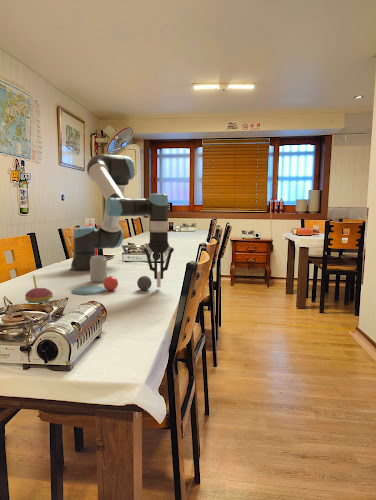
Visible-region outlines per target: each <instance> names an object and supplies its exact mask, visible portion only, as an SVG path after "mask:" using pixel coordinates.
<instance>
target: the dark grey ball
mask: <svg viewBox="0 0 376 500" xmlns="http://www.w3.org/2000/svg"><path fill="white" fill-rule="evenodd" d="M136 283H137V287H138V289H140V290H142V291H147V290H149V289H150V288H151V286H152V280H151V278H150V277H149V276H147V275H142V276H140V277H139V278H138V279H137V282H136Z"/></svg>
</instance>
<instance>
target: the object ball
mask: <svg viewBox="0 0 376 500" xmlns="http://www.w3.org/2000/svg"><path fill="white" fill-rule="evenodd" d="M102 285H103V287H104V288H105V289H106V291H109V292H110V291H111V292H112V291H114V290H116V289H117V288H118V286H119V281H118V279H117V278H116V277H115V276H110V275H109V276H107V278H105V280H104V282H102Z"/></svg>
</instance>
